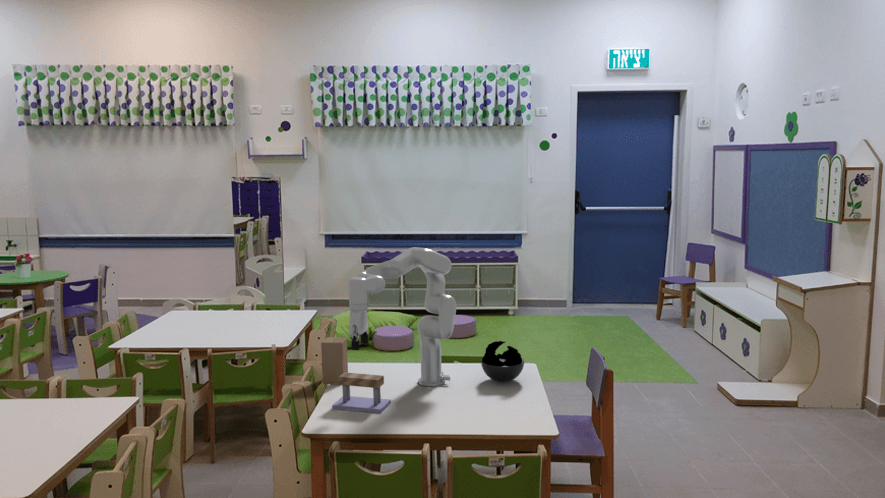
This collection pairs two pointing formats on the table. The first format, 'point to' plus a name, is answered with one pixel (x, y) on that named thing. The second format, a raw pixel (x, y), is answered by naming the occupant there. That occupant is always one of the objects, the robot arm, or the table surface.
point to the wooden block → (334, 359)
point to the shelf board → (361, 380)
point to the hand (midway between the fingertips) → (360, 346)
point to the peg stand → (361, 402)
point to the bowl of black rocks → (502, 363)
